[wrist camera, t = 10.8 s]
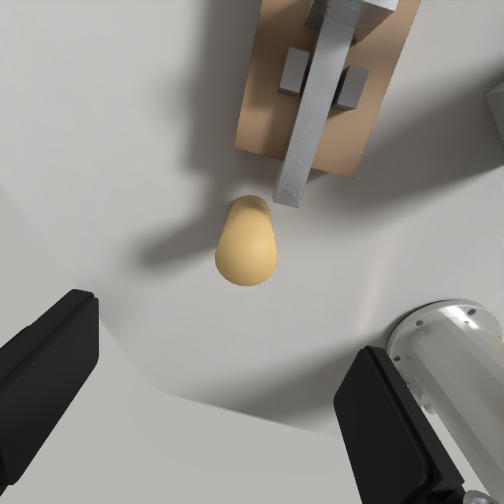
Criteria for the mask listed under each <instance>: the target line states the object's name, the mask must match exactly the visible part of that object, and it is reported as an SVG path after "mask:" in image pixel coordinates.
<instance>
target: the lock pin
mask: <svg viewBox="0 0 504 504" xmlns="http://www.w3.org/2000/svg"><path fill="white" fill-rule="evenodd" d="M398 1H399V0H310V2H309V6H308V10H307V14H306V18H305V22H304V25H305V26H309V27H312V28H315V29H318V31H317V35H316V39H315V42H314V46H313V50H312V53H311V57H310V61H309V64H308V68H307V72H306V75H305V79H304V83H303V86H302V90H301V94H300V97H299V101H298V105H297V108H296V112H295V116H294V119H293V123H292V127H291V130H290V134H289V138H288V141H287V145H286V149H285V152H284V156H283V160H282V163H281V167H280V171H279V174H278V178H277V182H276V185H275V189H274V193H273V196H272V198H273V202H275V203H279V204H283V205H288V206H292V207H296V208H298V206H299V203H300V200H301V197H302V194H303V191H304V188H305V184H306V181H307V178H308V175H309V172H310V169H311V166H312V163H313V159H314V156H315V153H316V150H317V147H318V144H319V141H320V137H321V134H322V131H323V128H324V125H325V122H326V119H327V115H328V112H329V109H330V106H331V103H332V100H333V97H334V93H335V90H336V87H337V84H338V81H339V78H340V75H341V71H342V68H343V65H344V62H345V59H346V56H347V53H348V49H349V46H350V43H351V40H355V41H358V42H361V41H362V40H363V39H364V38H365V37H366V36H368V35H369V34H370V33H371V32H372V31H373V30H374V29H375V28H376V27H378V26H379V25H380V24H381V23H382V22H383V21H384V20H385V19H386V18H388V17H389V16H390V15H391V14H392V13H393V12H394V11H395V9H396V6H397V4H398Z"/></svg>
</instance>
